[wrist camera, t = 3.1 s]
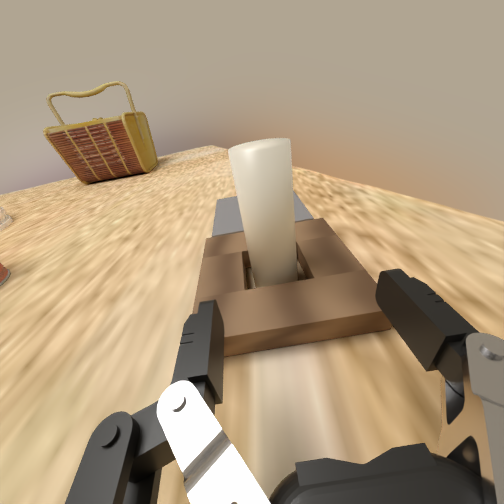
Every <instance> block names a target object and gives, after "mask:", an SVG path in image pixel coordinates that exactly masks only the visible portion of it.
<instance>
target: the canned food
mask: <svg viewBox="0 0 504 504" xmlns="http://www.w3.org/2000/svg"><path fill="white" fill-rule="evenodd" d="M9 276H10V271H9V270H8V269H6V268H5V267H4V266H3V265H2V264H1V263H0V286H1V285H2V284H3V283H4V282H5V281H6V280H7V279H8V278H9Z"/></svg>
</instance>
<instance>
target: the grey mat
mask: <svg viewBox="0 0 504 504" xmlns="http://www.w3.org/2000/svg"><path fill="white" fill-rule="evenodd" d="M293 198H294V216H295V223H296V222H302V221H308V220H313V219H314V218H313V217H312V215H311V214H310V213H309V211H308V210H307V208H306V207H305V206H304V204H303V203H302V202H301V200H300V199H299V198H298V196H297V195H296V194H295V192H294V191H293ZM240 232H244V228H243V223H242V218H241V213H240V208H239V203H238V198H237V196H235V197H230V198H224V199H219V200H217V205H216V212H215V219H214V225H213V232H212V237H217V236H223V235H229V234H234V233H240Z"/></svg>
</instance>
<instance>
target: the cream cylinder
mask: <svg viewBox="0 0 504 504" xmlns="http://www.w3.org/2000/svg"><path fill="white" fill-rule="evenodd" d="M228 153H229V158H230V163H231V168H232V173H233V178H234V183H235V188H236V193H237V198H238V203H239V208H240V213H241V218H242V223H243V228H244V233H245V238H246V243H247V248H248V253H249V258H250V263H251V268H252V273H253V278H254V283H255V287H256V288H260V287H266V286H272V285H278V284H283V283H289V282H295V281H298V273H297V254H296V235H295V216H294V198H293V179H292V161H291V141H290V139H287V138H272V139H264V140H257V141H252V142H247V143H243V144H240V145H237V146H234V147H232V148H230V149H229V150H228Z"/></svg>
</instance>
